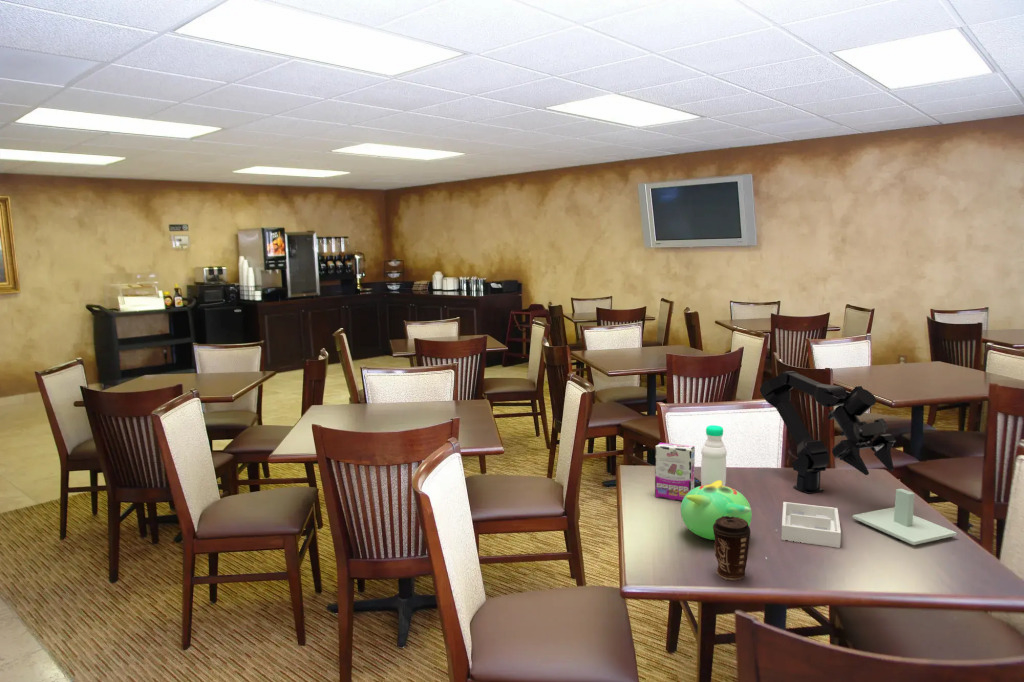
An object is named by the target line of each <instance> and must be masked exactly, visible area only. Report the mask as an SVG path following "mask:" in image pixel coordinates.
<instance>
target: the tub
mask: <svg viewBox="0 0 1024 682" xmlns="http://www.w3.org/2000/svg"><path fill="white" fill-rule="evenodd" d="M782 502H783V503H782V517H781V518H782V519H781V538H780V539H781V541H785V540H788V541H787V542H793V541H794V542H793V543H800V542H801V543H802V544H808V545H815V546H823V547H832V548H837V549H840V548H841V542H842V540H841V538H842V531H841V525H840V524H841V523H840V517H839V516H840V515H839V511H838V507H831V506H821V505H813V504H805V503H798V502H789V501H788V502H787V501H782Z"/></svg>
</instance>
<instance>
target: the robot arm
mask: <svg viewBox="0 0 1024 682" xmlns="http://www.w3.org/2000/svg"><path fill="white" fill-rule="evenodd" d="M793 388H794V389H796V390H798V391H801V392H803V393H806V394H807V395H808V396H812V397H813V398H814V399H815V402H817V403H818V404H819V405H821V406H822V407H824V408H832V407H835V409H831V410H829V411H828V415H827V420H835V422H836V423H837V425H838V426H839V428H840V430H841V432H840V433H839V434H840V436H841V437H845V438H846V439H843V440H840V441H839V442H838V443H837V444H836V445H834V446H833V447H832V449H831V450H832V451H831V452H832V455H833V457H834V458H835V459H839V460H840V461H843V462H845V463H847V464H849V465H850V466H852V467H853V468H855V469H856V470H858V471H859V472H860V473H861V474H863V475H865V476H868V475H869V474H870V473H869V469H868V467H867V466H866V463H864V460H863V458H862V457H861V455H860V450H865V449H871V451H872V452H874V453H873V455H874V456H875V457H876V458H877V459H878V460H879V461H880V462H881V463H882V465H884V466H885V468H886V469H888V470H889V471H890V472H892V471H894V470H895V468H894V464H893V460H892V459H893V458H892V453H891V450H892V447H893V446H894V444H895V443H896V442H897V440H896V438H895V437H894V436H893V434H890V433H886V431H887V430H888V428H889V427H888V424H887V422H886V420H884V418H878V419H874V421H873V422H870V423H867V422H866V421H861V419H860V418H859V417H861V416H863V415H864V414H866V412H868V411H869V410H871V408H873V407H874V405H876V403H877V398H876V396H875V395H874V394H873V393H872V392H871V391H869V390H867V389H864V388H863V386H862V385H856V386H855V387H853V389H852V390H851V391H850V392H849V391H847V390H846V388H845V387H843V386H840V385H835V384H825V383H821V382H820V381H816V380H814V379H812V378H809V377H808V376H805V375H802V374H800V373H798V372H797V371H794V370H790V371H783V372H781V373H780V374H779V375H776V376H775V377H773V378H771V379H769V380H766V381H764V382H762V384H761V386H760V394H761V396H762V397H763V399H764V400H765V401H766V402H767V403H768V404H769V405H770V406H772V407H774V408H775V409H776V410H777V412H778V414H779V416H780V418H781V419H782V421H783V422H784V425H785V426H786V428H787V430H788V431H789V433H790V435H791V437H792V438H793V440H794V441H795V442H794V443H796V450H797V451H796V455H797V459H795V460H794V461H793V462H792V470H793V471H795V472H797V475H796V485H793V488H794V489H796V490H798V491H801V492H804V493H805V494H808V495H810V494H814V493H818V492H824V488H821V487H820V486H821V473H822V472H825V471H826V469H827V467H828V465H829V463H830V458H831V457H830V453H829V449H827V447H826V446H825V443H824V442H823V440H820V439H819V440H815V439H814V438H813V437H812V435H811V434H810V433H809V432H810V431H808V429H807V427H806V426H805V424H804V422H803V420H802V418H801V417H800V415H799V413H798V411H797V410H796V409H795V406H794V405H793V403H792V402H791V396H792V395H791V394H792V393H791V390H792V389H793ZM885 433H886V434H885ZM877 434H879V435H878V436H877Z"/></svg>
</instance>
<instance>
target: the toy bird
mask: <svg viewBox="0 0 1024 682" xmlns="http://www.w3.org/2000/svg"><path fill="white" fill-rule="evenodd" d="M680 515H681V520H682V521H683V523H684V525H685V526H686V527H687V529H688V530H690V531H691V532H692V533H693V534H695V535H697V536H699V537H701V538H703V539H706V540H710V541H711V540H712V541H715V536H714V531H713V525H714V524H715V522H716V520H717V519H718V518H721V517H722V516H729V517H732V516H733V517H739V518H742V519H744V520H745V521H747V523H748V526H749V527H750V524H751V522H752V519H753V518H752V515H753V514H752V508H751V505H750V503H749V501H748V499H747V498H746V497H745V496H744V494H742V493H741V492H740V491H738V490H736V489H734V488H732V487H729V486H728V485H727V486H726V485H725V486H723V485H722V481H721V480H718V481H715V482H713V483H712V484H709V485H702V486H699V487H696V488H694V489H692V490H691V491H689V492H688V493H687V494H686V496H685V497H684V499H683V501H681V505H680Z"/></svg>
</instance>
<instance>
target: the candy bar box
mask: <svg viewBox="0 0 1024 682" xmlns="http://www.w3.org/2000/svg"><path fill="white" fill-rule="evenodd" d="M695 447H696V446H695V445H687V444H675V443H668V442H659V443H658V444H657V445H655V447H654V451H655V452H654V453H655V454H654V455H655V458H654V460H655V462H654V463H655V464H654V466H655V468H654V497H655V498H658V499H666V500H671V501H678V502H682V501H683V499H684V497H685V496H686V494H687V493H688V492H689V491H691V490H692V489H694V477H695V463H696V462H695V459H696V458H695V457H696V455H695V451H696V448H695Z"/></svg>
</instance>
